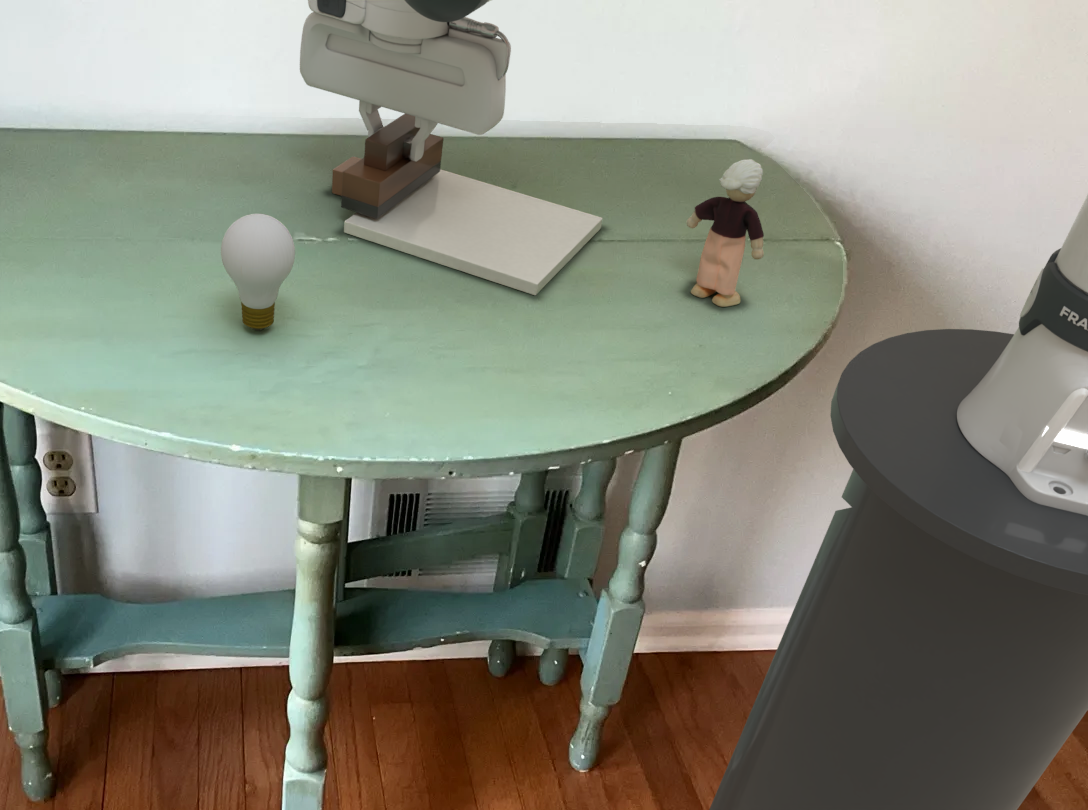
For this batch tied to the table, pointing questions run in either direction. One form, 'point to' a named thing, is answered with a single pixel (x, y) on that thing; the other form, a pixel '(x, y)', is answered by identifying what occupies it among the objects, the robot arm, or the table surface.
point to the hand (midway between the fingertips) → (394, 152)
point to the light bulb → (258, 264)
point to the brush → (389, 169)
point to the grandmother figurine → (728, 233)
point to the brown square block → (341, 174)
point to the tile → (481, 230)
